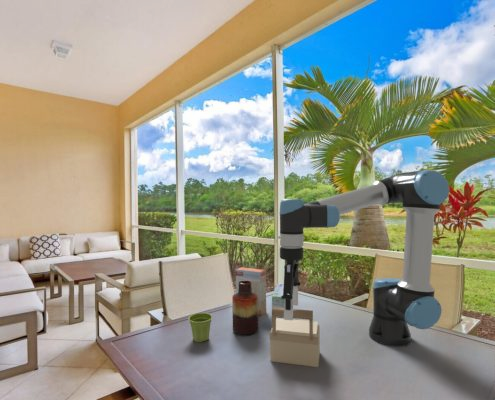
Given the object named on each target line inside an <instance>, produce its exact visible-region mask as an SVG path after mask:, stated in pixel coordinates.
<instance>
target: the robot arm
mask: <svg viewBox="0 0 495 400" xmlns="http://www.w3.org/2000/svg"><path fill="white" fill-rule="evenodd" d="M449 194H450V185H449V182H448V179H446V177H445V176H444V175H443V174H442V173H440V172H439V171H437V170H433V169H432V170H431V169H421V170H415V171H407V172H400V173H397V174H394V175H391V176H388V177H386V178H383V179H380V180H376V181H374V182H373V184H372V185H367V186H364V187H360V188H357V189H353V190H350V191H347V192H346V191H345V192H343V193H340V194H334V195H332V196H329V197H325V198H322V199H318V200H315V201H310V202H307V203H304V200H303V199H302V198H283V199H282V200H281V201H280V203H279V213H278V214H279V235H278V237H277V238H278V240H279V259H281V260H284V261H286V263H285V264H284V267H283V268H284V275H283V284H284V288H283V296H281V299H284V320H292V321H293V319H294V318H293V309H294V306H299V286H301V282H299V281H300V279H299V263H298V261H301V260H303V259H304V248H303V246H304V228H305V229H309V228H310V229H311V228H312V229H314V228H315V229H316V228H319V229H320V228H324V229H325V228H326V229H329V228H335V227H337V226H338V225H339V223H340V217H341V215H344V214H347V213H351V212H355V211H359V210H362V209H365V208H368V207H372V206H375V205H381V206H385V205H389V204H401V205H402V209H403V210H404V212H405V213H406V219H405V234H404V247H403V248H404V249H403V263H402V264H403V266H402V277H401V278H395V277H383V278H381V277H380V278H376V279H375V280H374V281H373V283H372V284H373V287H372V292H373V294H372V295H373V296H372V297H373V298H372V299H373V302H372V303H373V304H372V305H373V307H372V309H373V316H372V320H371V322H370V324H369V325H370V326H369V328H368V335H369V338H371V340H373V341H375V342H377V343H379V344H382V345H387V346H394V347H402V346H403V347H404V346H407V345H409V344H410V343H412V334H411V331H410V329H409V326H411V327H414V328H416V329H419V330H427V329H431V328H432V327H434V325H436V324H437V323H438V322H439V321H440V318H441V316H442V310H443V309H442V306H441V303H439V300H438V299H436V298H435V288H434V287H433V286H432V285H431V272H432V271H431V270H432V255H433V253H432V252H433V238H434V224H435V215H436V214H437V213H438V212H439V211H440V210H441V204H443V203H444V202H445V201H446V200H447V199H448V198H449ZM286 294H288V295H286Z"/></svg>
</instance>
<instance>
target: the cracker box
mask: <svg viewBox="0 0 495 400" xmlns="http://www.w3.org/2000/svg"><path fill="white" fill-rule="evenodd" d="M266 271H267V270H266V269H261V268H260V269H259V268H254V267H253V268H252V267H244V266H243V267H242V266H241V267H239V268H236V269H235V294H236V293H238V283H239V282H240V281H251V284H252V292H253V293H255V294H257V296H258V317H261V316H263V315H264V314H266V313H267V277H266V275H267V272H266Z"/></svg>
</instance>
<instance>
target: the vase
mask: <svg viewBox="0 0 495 400" xmlns="http://www.w3.org/2000/svg"><path fill="white" fill-rule="evenodd" d="M231 301H232V302H231V303H232V332H233V333H234V334H235V335H236V336H243V337H245V336H246V337H248V336H253V335H256V334H257V333H258V332H259V316H258V296H257V294H255V293H253V292H252V284H251V281H240V282H239V283H238V293H236V292H235V293H234V294H233V295H232V300H231Z"/></svg>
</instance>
